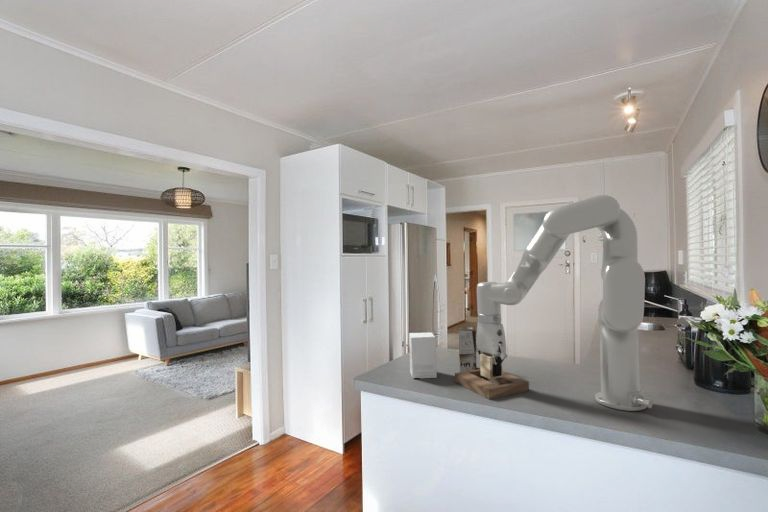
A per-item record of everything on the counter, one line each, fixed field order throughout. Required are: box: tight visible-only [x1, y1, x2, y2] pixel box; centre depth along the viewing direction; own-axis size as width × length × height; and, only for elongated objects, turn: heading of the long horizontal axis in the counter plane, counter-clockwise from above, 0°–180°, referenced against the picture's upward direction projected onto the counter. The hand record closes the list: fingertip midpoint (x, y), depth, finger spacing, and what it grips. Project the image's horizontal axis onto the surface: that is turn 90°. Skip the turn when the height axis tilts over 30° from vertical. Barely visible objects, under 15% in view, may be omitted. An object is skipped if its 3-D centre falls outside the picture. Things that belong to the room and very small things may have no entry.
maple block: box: [479, 353, 503, 379], centre depth 125 cm, size 5×5×7 cm
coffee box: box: [458, 326, 477, 372], centre depth 143 cm, size 9×6×16 cm
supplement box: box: [408, 332, 438, 380], centre depth 139 cm, size 9×9×15 cm
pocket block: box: [454, 368, 530, 400], centre depth 125 cm, size 18×16×3 cm
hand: (491, 373), depth 125 cm, fingers closed on maple block, 5 cm apart
